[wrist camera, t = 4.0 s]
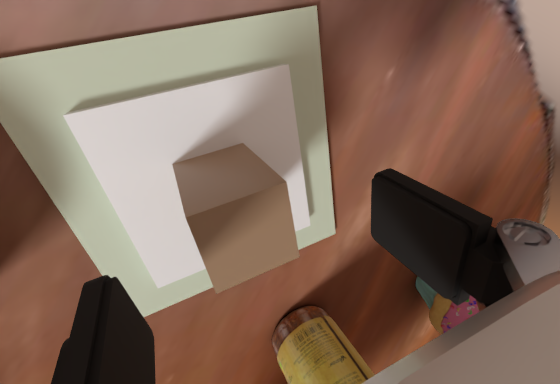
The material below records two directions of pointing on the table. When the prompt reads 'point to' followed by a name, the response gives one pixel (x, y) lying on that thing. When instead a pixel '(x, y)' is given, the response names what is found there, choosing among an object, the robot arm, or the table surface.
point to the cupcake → (445, 308)
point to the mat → (146, 80)
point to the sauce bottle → (316, 350)
